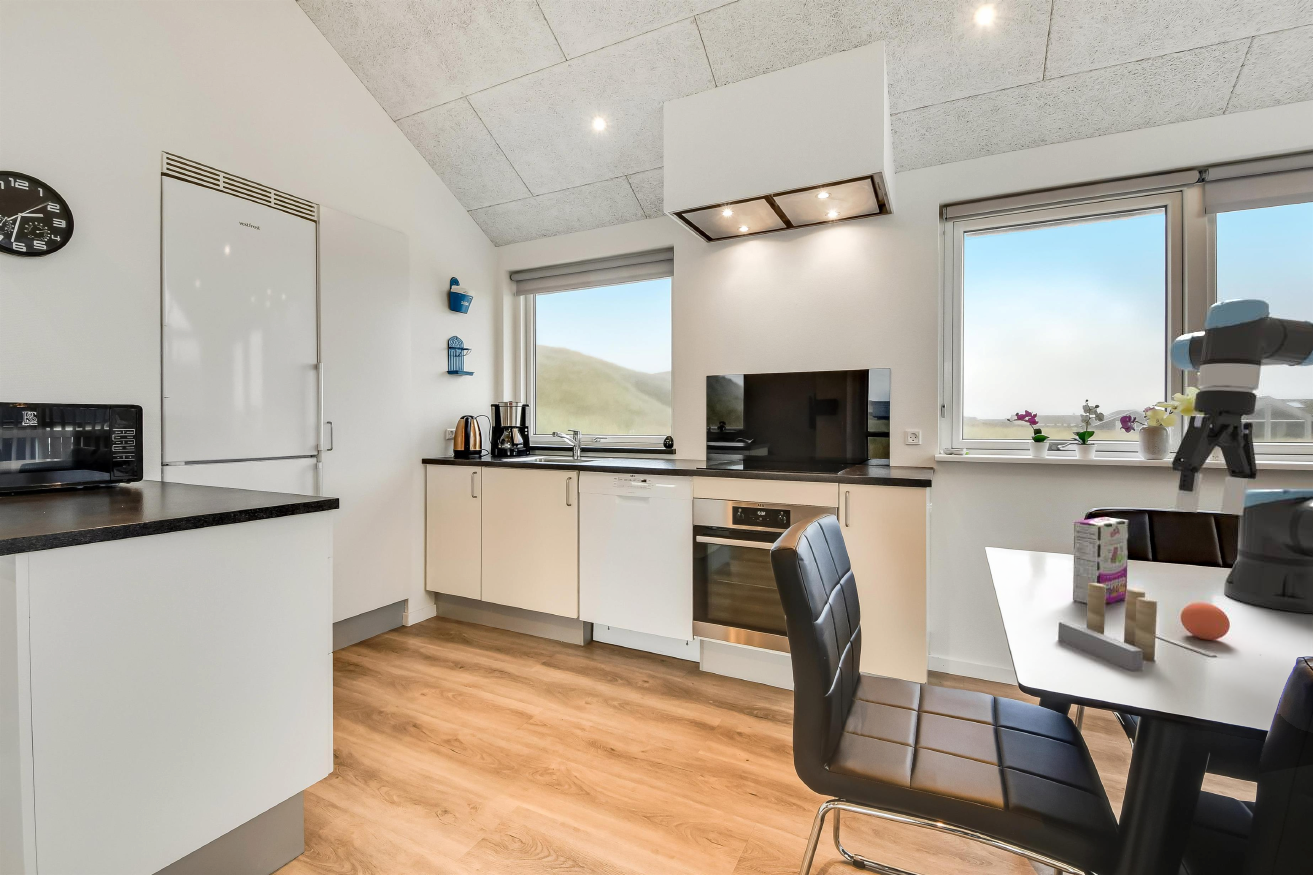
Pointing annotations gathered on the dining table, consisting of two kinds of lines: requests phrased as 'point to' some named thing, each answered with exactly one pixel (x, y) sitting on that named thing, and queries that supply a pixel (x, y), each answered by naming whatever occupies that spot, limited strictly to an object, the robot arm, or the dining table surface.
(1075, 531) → the candy bar box
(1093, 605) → the back pin right
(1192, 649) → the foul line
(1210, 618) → the ball
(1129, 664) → the rail
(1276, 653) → the dining table surface
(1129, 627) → the front pin
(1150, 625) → the back pin left
